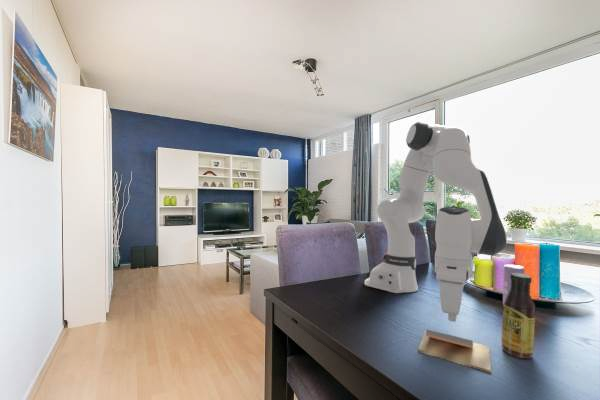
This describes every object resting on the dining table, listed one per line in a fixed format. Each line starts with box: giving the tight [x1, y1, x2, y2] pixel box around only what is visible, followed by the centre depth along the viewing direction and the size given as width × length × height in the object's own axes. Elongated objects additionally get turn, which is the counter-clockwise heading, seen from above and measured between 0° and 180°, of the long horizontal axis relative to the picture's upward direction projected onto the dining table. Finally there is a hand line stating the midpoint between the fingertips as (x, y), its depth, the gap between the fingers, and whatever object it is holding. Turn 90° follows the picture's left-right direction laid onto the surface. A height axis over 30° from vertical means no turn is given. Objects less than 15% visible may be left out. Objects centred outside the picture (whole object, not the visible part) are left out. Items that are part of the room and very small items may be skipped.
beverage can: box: [502, 263, 526, 306], centre depth 98 cm, size 6×6×15 cm
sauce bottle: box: [501, 273, 536, 360], centre depth 68 cm, size 6×6×20 cm
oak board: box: [417, 330, 492, 374], centre depth 69 cm, size 15×12×1 cm
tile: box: [425, 329, 474, 348], centre depth 70 cm, size 10×2×8 cm
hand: (452, 319), depth 73 cm, fingers closed
